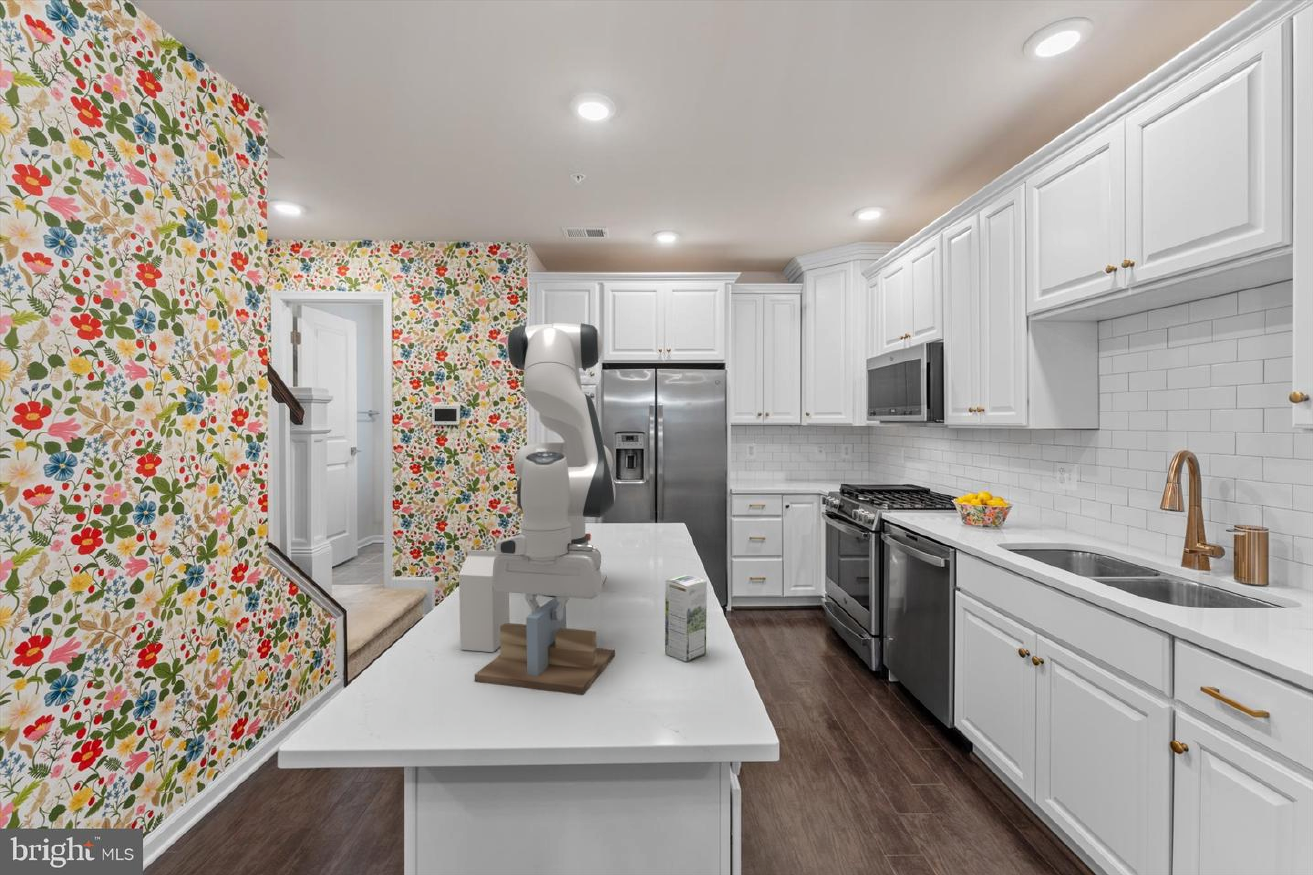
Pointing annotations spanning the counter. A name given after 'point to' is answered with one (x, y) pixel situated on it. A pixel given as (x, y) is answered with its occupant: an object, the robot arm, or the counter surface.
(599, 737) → the counter surface
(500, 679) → the rail stand
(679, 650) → the syrup box
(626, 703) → the counter surface
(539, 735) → the counter surface
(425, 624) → the counter surface
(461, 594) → the milk carton
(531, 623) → the slotted plate
